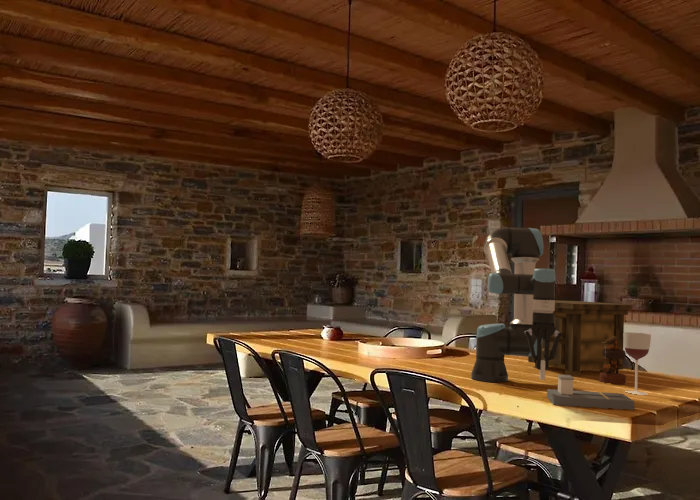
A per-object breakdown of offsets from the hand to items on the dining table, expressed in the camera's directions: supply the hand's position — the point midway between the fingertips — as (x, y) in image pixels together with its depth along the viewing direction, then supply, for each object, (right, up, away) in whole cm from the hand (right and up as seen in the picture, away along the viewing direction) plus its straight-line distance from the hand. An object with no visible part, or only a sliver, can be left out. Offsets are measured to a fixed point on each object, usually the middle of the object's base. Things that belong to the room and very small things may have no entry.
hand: (542, 379), depth 222 cm
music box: (+45, -11, +48) cm, 67 cm away
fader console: (+16, -8, -2) cm, 18 cm away
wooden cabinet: (+40, -13, +80) cm, 90 cm away
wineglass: (+44, -10, +23) cm, 50 cm away
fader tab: (+8, -5, -1) cm, 9 cm away
